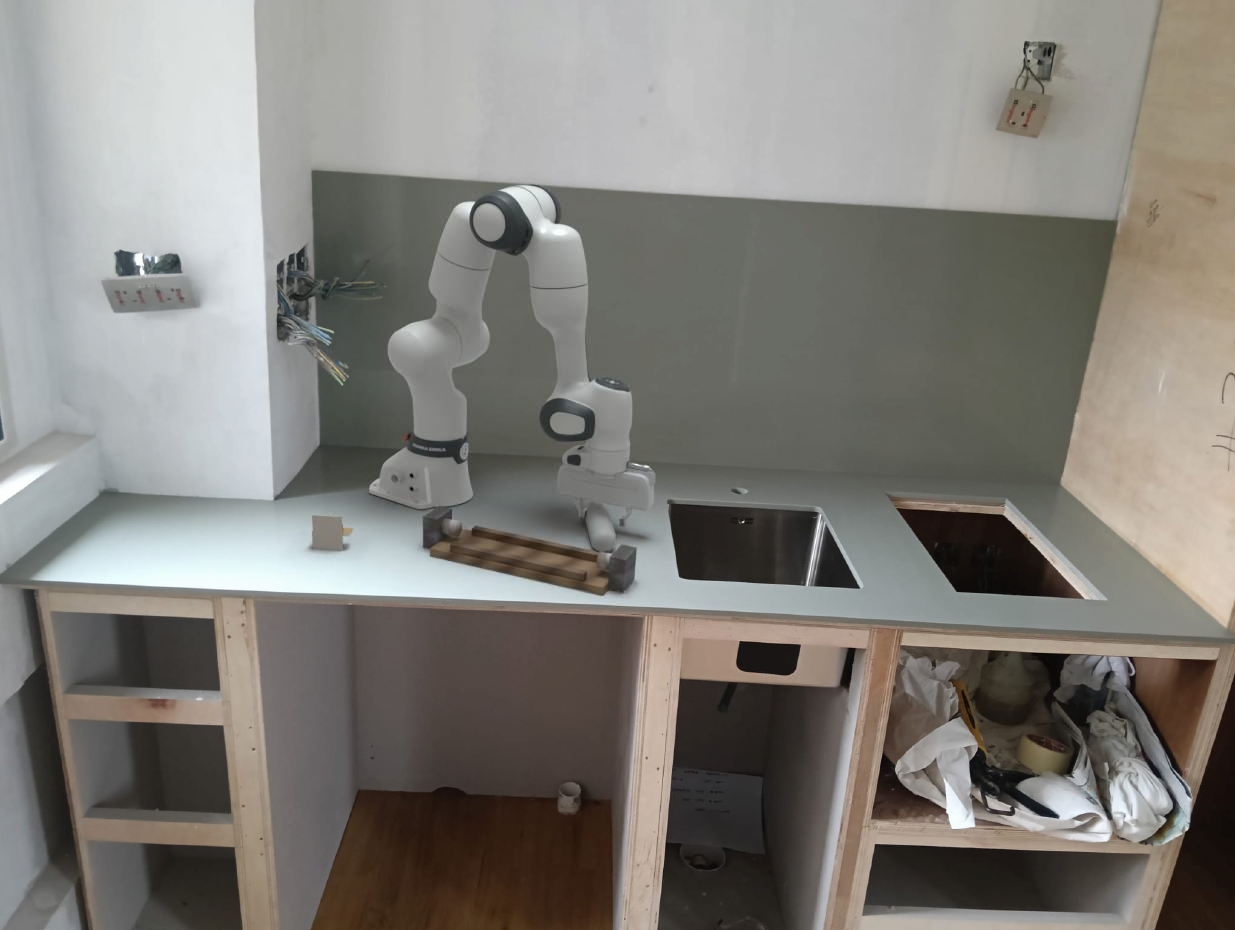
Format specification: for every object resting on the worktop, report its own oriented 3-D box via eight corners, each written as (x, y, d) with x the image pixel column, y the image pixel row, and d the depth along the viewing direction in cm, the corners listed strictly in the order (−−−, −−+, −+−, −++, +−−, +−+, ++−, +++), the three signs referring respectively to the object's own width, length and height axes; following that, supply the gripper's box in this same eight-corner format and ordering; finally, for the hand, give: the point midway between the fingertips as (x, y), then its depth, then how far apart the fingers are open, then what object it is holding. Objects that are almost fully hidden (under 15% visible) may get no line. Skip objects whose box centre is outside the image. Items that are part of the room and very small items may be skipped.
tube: (622, 537, 192) (607, 488, 215) (597, 529, 190) (584, 480, 214) (612, 560, 193) (598, 509, 216) (587, 552, 192) (575, 502, 215)
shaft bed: (416, 552, 188) (415, 521, 186) (445, 531, 198) (445, 501, 196) (618, 598, 176) (620, 565, 173) (638, 574, 185) (641, 542, 183)
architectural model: (317, 543, 190) (316, 508, 188) (353, 545, 190) (352, 510, 188) (312, 551, 187) (310, 515, 184) (349, 553, 187) (348, 517, 184)
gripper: (661, 462, 198) (655, 525, 203) (567, 445, 205) (564, 507, 209) (651, 472, 193) (646, 536, 198) (555, 454, 199) (552, 517, 204)
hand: (603, 521), depth 204 cm, fingers open, 8 cm apart
